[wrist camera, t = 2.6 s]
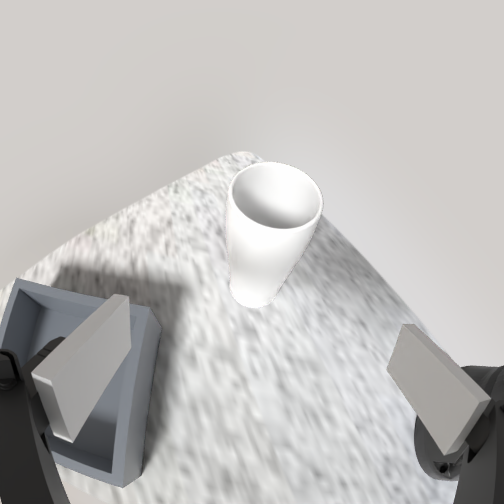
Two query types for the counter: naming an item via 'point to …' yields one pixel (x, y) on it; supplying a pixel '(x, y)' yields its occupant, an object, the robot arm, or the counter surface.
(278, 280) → the white plastic tumbler
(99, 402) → the bin
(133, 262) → the counter surface
